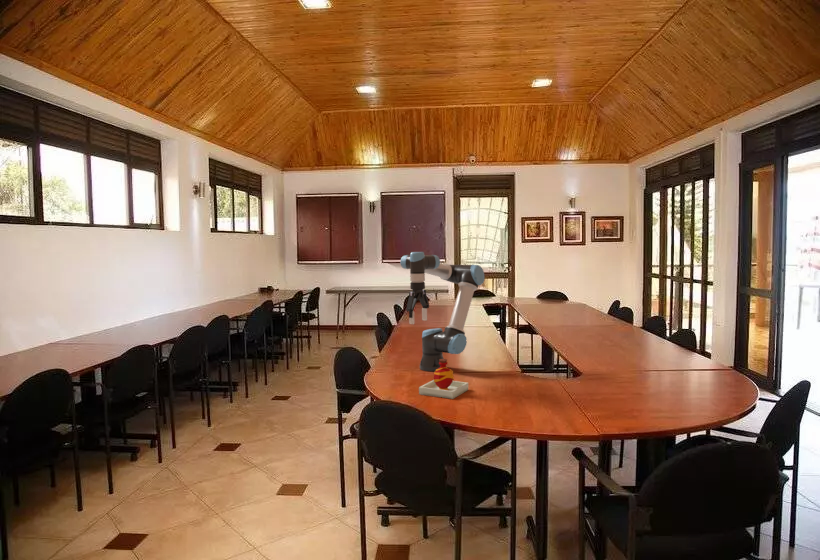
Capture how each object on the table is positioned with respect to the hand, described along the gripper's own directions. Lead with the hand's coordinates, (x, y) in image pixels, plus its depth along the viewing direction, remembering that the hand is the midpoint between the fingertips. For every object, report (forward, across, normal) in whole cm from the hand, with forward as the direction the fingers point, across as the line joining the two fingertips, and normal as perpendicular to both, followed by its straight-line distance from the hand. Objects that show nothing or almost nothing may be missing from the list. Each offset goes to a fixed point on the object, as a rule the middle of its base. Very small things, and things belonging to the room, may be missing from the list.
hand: (418, 322), depth 281 cm
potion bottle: (+31, +11, +20) cm, 38 cm away
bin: (+32, +11, +20) cm, 39 cm away
